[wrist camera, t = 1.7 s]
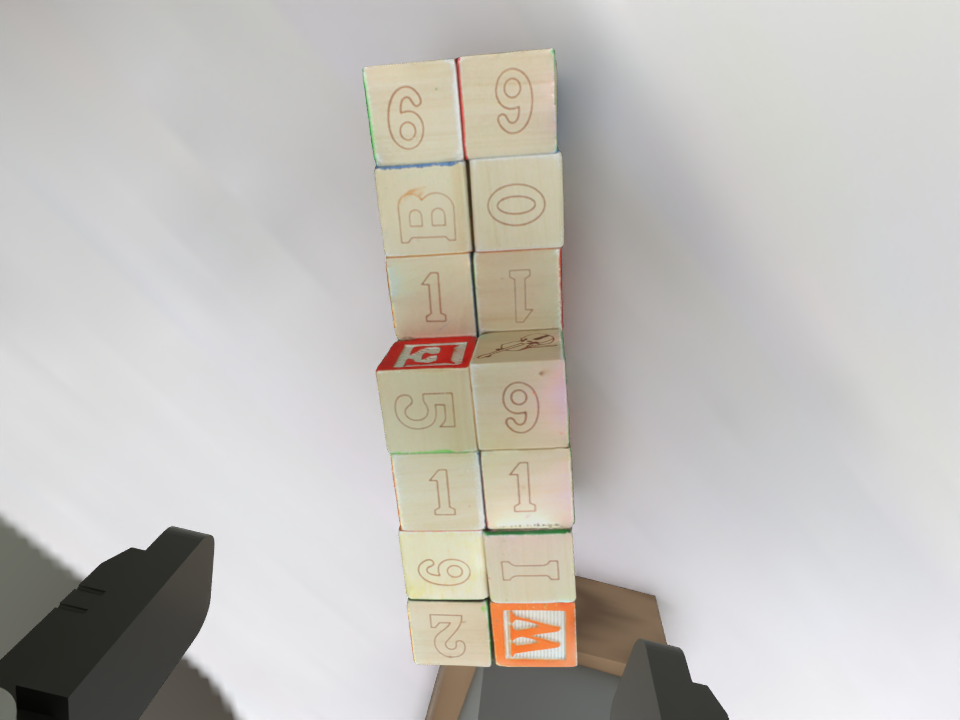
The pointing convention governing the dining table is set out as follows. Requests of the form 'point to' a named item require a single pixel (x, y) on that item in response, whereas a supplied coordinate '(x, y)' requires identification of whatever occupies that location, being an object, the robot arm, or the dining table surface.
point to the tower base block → (599, 633)
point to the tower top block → (539, 693)
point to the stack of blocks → (477, 355)
